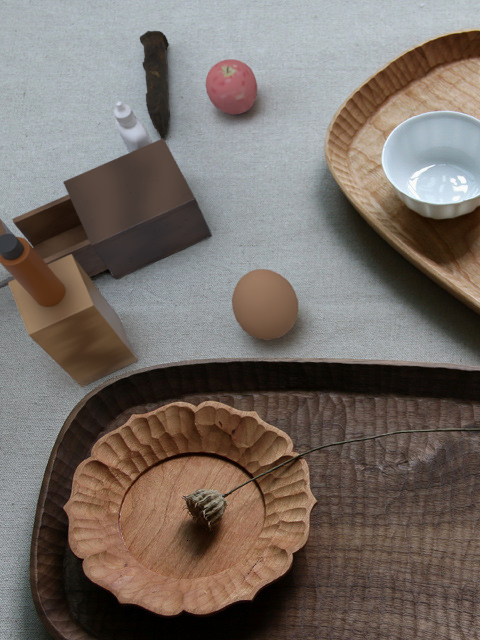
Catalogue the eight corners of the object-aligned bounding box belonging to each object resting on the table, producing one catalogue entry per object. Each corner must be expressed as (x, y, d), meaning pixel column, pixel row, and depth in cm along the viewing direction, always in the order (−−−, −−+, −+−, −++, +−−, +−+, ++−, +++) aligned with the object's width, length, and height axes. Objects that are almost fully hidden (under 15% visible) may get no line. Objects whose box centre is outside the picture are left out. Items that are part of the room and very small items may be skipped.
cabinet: (116, 280, 112) (91, 245, 104) (88, 219, 117) (62, 181, 109) (212, 236, 115) (195, 198, 107) (181, 177, 119) (163, 137, 111)
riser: (81, 387, 106) (28, 335, 92) (62, 339, 109) (7, 282, 95) (138, 360, 107) (93, 304, 94) (117, 314, 110) (71, 253, 96)
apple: (264, 86, 125) (253, 45, 117) (260, 124, 122) (248, 85, 114) (217, 87, 125) (203, 46, 118) (211, 125, 122) (196, 85, 115)
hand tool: (146, 50, 129) (135, 27, 124) (171, 47, 129) (161, 23, 124) (146, 145, 121) (135, 123, 117) (172, 141, 121) (162, 120, 117)
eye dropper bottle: (161, 144, 121) (133, 85, 110) (164, 174, 119) (136, 116, 108) (132, 150, 121) (101, 90, 110) (134, 179, 119) (103, 122, 108)
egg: (232, 316, 109) (210, 271, 99) (286, 287, 111) (270, 241, 100) (259, 363, 106) (240, 322, 96) (315, 333, 108) (302, 290, 97)
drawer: (4, 322, 110) (-22, 297, 103) (-18, 265, 113) (-44, 237, 107) (131, 264, 112) (112, 236, 106) (105, 210, 116) (86, 180, 110)
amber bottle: (40, 312, 94) (-6, 262, 84) (30, 288, 95) (-16, 237, 85) (69, 298, 94) (27, 248, 84) (59, 275, 95) (17, 223, 86)
